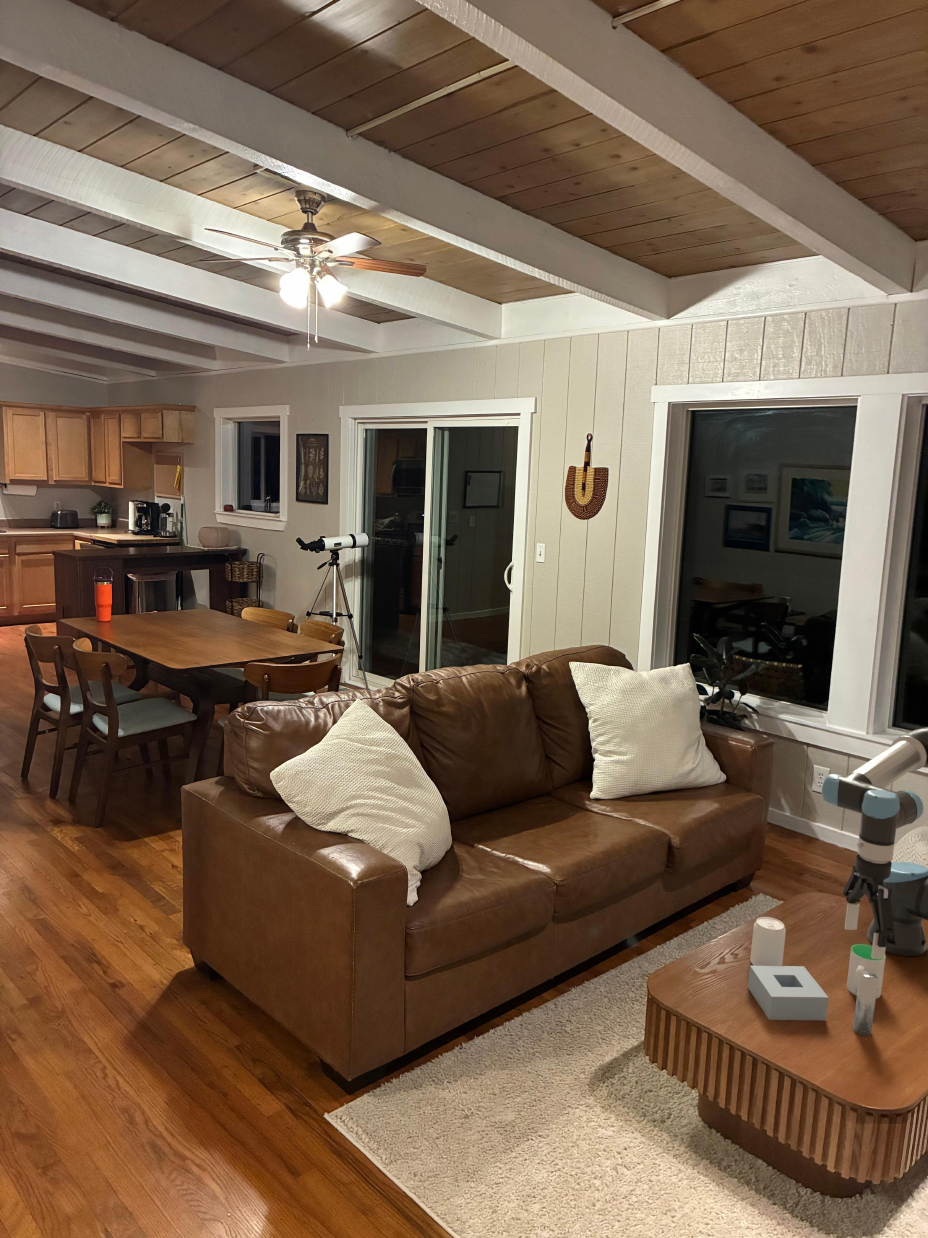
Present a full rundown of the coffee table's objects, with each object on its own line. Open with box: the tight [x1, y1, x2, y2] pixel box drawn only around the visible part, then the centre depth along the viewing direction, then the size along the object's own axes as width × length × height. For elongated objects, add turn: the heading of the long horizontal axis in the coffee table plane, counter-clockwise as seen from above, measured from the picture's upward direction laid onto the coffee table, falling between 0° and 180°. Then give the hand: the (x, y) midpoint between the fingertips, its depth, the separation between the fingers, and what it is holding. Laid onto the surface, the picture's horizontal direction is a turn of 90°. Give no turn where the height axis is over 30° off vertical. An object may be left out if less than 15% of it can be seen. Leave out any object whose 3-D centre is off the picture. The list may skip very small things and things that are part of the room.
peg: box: [852, 971, 878, 1037], centre depth 214 cm, size 4×4×14 cm
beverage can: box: [749, 916, 787, 966], centre depth 242 cm, size 8×8×12 cm
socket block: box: [747, 965, 829, 1021], centre depth 224 cm, size 14×14×6 cm
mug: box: [846, 943, 887, 999], centre depth 230 cm, size 12×8×10 cm, turn 145°
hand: (863, 943), depth 213 cm, fingers open, 13 cm apart
